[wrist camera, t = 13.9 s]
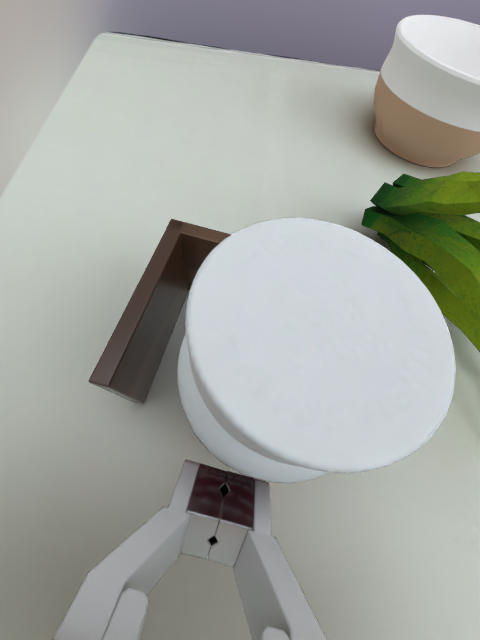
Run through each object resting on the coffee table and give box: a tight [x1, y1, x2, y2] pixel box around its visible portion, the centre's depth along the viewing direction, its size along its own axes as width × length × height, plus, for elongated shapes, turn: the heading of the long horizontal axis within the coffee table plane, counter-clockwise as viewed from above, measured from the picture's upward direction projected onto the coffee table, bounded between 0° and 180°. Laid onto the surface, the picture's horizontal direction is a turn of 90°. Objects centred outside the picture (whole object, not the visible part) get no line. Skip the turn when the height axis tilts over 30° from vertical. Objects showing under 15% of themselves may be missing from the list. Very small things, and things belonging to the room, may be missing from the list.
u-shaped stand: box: [89, 219, 231, 404], centre depth 13 cm, size 11×9×6 cm
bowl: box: [374, 15, 480, 167], centre depth 27 cm, size 16×16×8 cm
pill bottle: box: [177, 217, 456, 483], centre depth 10 cm, size 6×6×11 cm
